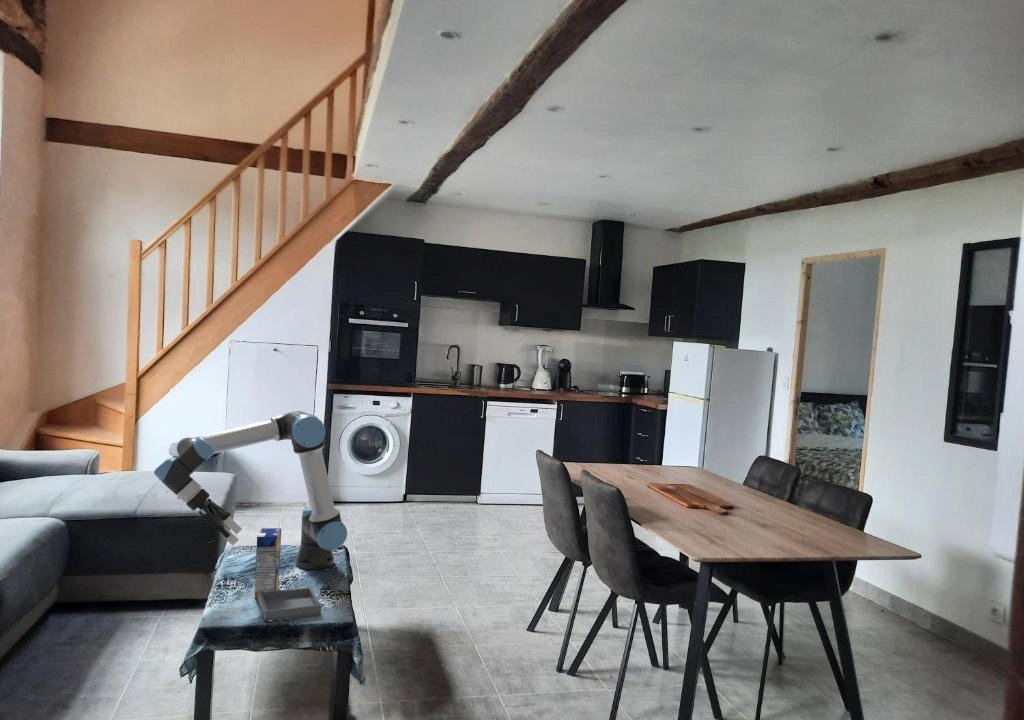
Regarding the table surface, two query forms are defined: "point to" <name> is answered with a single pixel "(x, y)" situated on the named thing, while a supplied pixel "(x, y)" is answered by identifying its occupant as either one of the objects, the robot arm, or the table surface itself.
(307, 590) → the tray
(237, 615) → the table surface
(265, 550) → the beverage box
